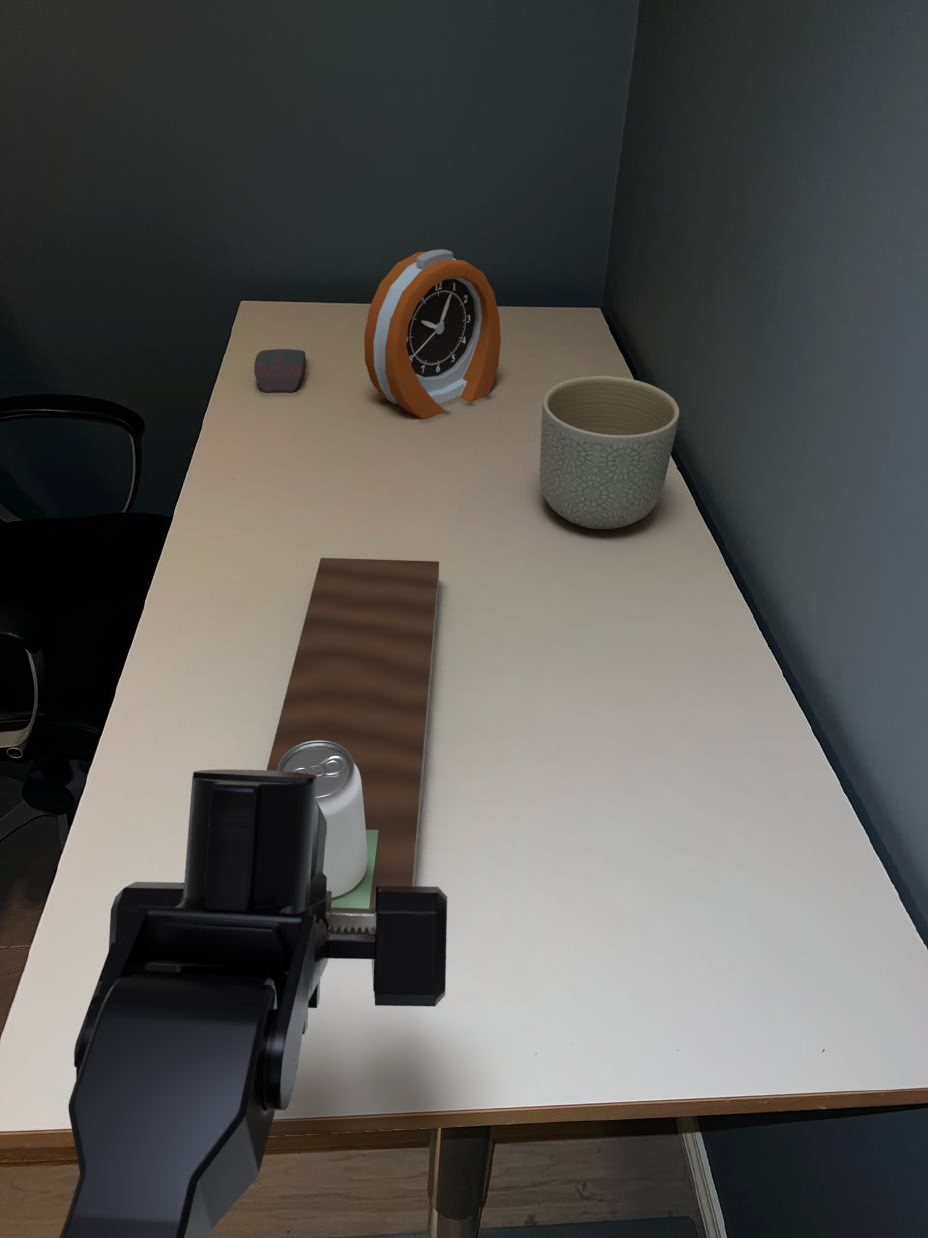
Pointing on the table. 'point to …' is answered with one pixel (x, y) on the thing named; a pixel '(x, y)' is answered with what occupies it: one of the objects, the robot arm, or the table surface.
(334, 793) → the can
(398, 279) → the alarm clock
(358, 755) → the shelf
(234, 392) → the table surface
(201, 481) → the table surface
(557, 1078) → the table surface
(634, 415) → the planter
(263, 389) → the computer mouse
